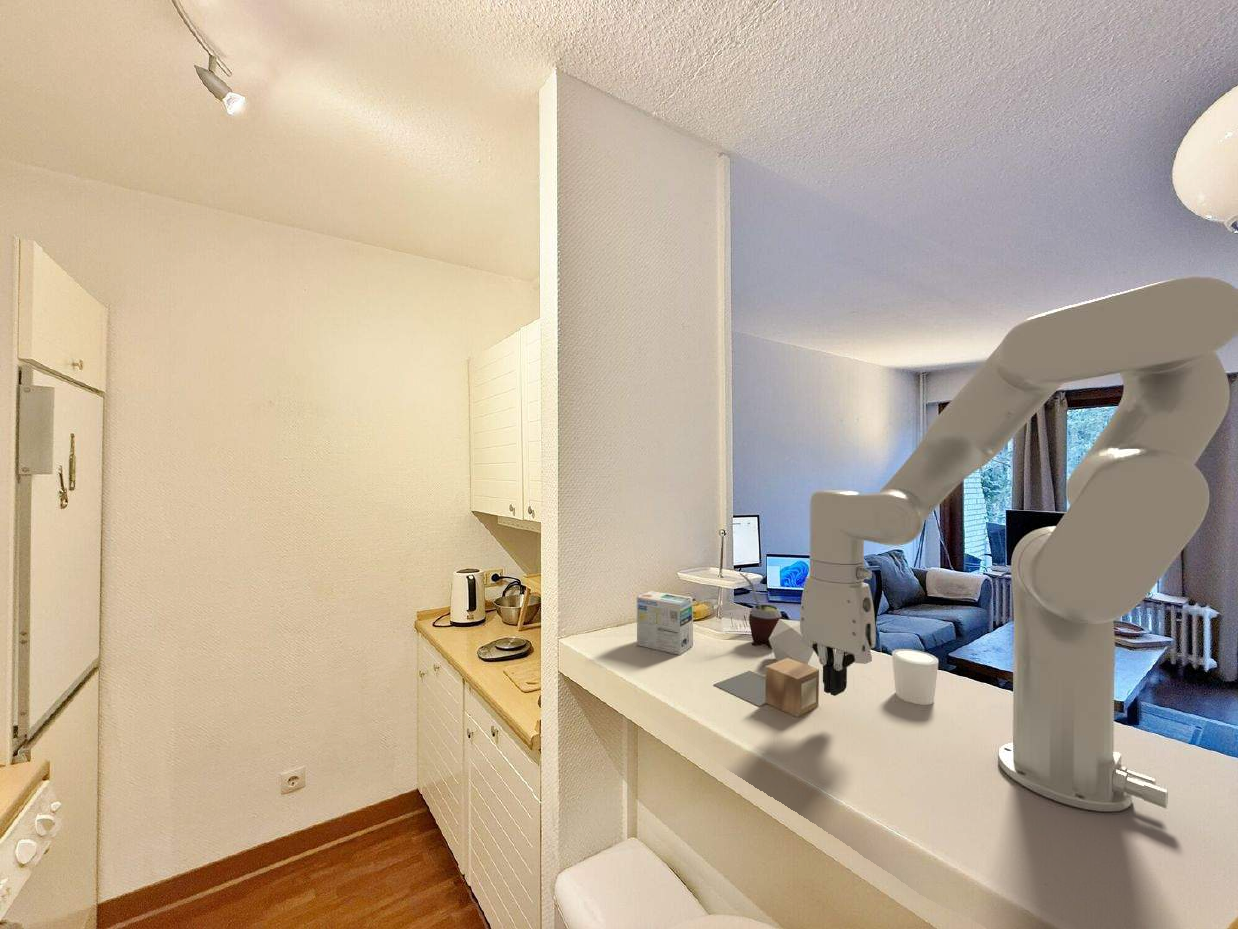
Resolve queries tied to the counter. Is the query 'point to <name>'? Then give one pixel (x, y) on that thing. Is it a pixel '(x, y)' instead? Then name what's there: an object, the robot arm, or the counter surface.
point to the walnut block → (792, 686)
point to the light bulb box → (665, 622)
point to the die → (789, 642)
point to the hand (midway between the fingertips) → (834, 691)
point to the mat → (746, 687)
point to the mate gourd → (762, 620)
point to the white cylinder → (915, 675)
